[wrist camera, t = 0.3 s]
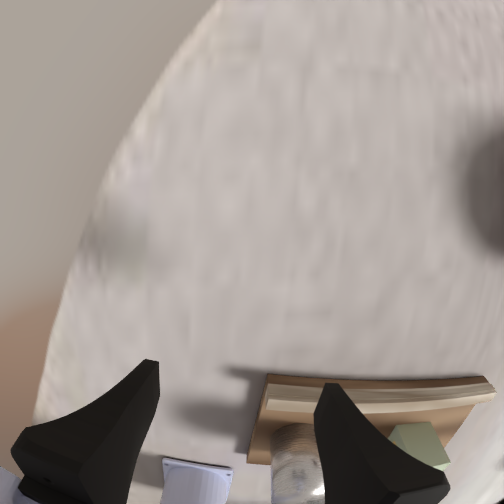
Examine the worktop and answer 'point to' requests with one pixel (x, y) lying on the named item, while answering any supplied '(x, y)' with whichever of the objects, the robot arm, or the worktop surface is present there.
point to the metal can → (295, 466)
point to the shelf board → (368, 405)
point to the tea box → (421, 443)
